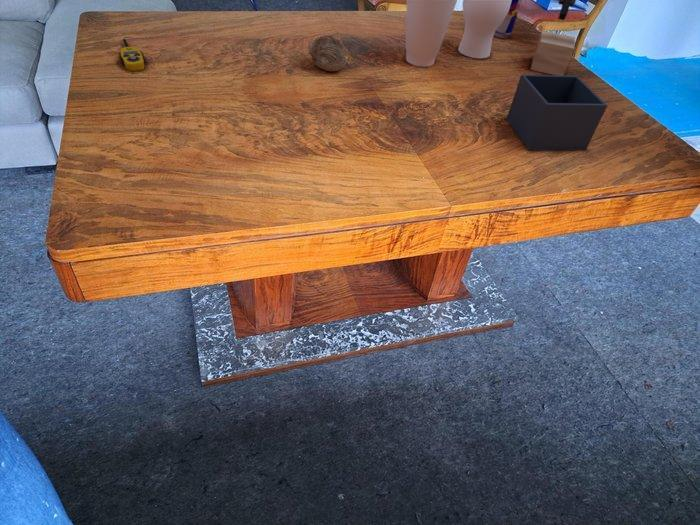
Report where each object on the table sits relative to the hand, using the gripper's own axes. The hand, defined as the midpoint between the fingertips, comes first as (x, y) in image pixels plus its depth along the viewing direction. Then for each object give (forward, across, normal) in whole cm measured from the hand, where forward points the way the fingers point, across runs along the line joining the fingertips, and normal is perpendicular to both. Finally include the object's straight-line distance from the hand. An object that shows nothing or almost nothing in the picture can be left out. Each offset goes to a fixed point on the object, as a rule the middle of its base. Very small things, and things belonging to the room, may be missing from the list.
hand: (562, 16), depth 128 cm
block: (+13, 0, -1) cm, 13 cm away
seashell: (+33, +49, +19) cm, 63 cm away
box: (+38, -1, +24) cm, 45 cm away
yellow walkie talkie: (+45, +89, +31) cm, 104 cm away
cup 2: (+14, +19, 0) cm, 23 cm away
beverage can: (+2, +13, -12) cm, 18 cm away
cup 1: (+23, +30, +9) cm, 39 cm away
